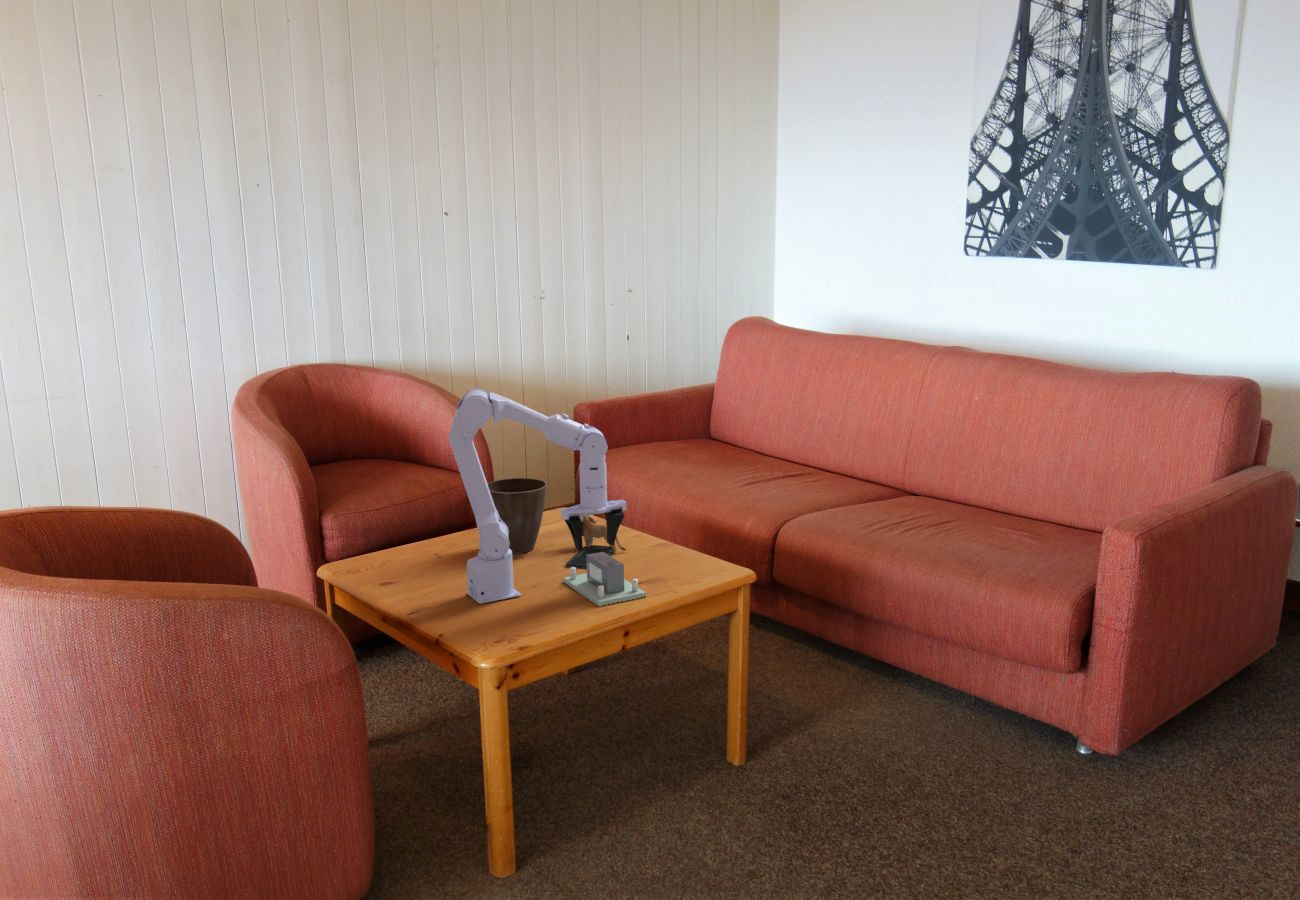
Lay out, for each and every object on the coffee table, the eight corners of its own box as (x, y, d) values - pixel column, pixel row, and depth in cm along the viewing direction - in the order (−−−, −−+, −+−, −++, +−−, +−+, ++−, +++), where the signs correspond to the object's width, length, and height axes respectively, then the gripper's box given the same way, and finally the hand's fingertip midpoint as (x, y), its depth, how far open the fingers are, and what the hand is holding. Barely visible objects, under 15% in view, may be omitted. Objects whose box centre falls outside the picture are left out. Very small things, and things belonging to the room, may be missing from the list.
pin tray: (599, 606, 229) (598, 590, 228) (563, 581, 244) (562, 566, 243) (645, 596, 234) (645, 581, 233) (608, 573, 249) (607, 558, 248)
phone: (617, 546, 266) (596, 566, 252) (617, 551, 266) (596, 571, 252) (586, 544, 268) (564, 563, 254) (586, 549, 268) (564, 568, 254)
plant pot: (478, 545, 272) (475, 482, 268) (535, 536, 278) (532, 474, 275) (500, 562, 259) (496, 496, 255) (558, 551, 266) (556, 487, 262)
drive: (607, 594, 233) (606, 567, 231) (587, 581, 241) (586, 554, 240) (624, 590, 235) (623, 564, 233) (603, 577, 243) (603, 551, 242)
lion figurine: (566, 549, 268) (565, 513, 266) (576, 543, 272) (575, 507, 270) (621, 555, 262) (620, 519, 260) (631, 549, 267) (630, 513, 265)
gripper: (569, 494, 228) (571, 556, 231) (632, 484, 235) (633, 546, 238) (556, 486, 234) (558, 548, 237) (617, 478, 241) (618, 537, 244)
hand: (595, 546), depth 238 cm, fingers open, 7 cm apart
